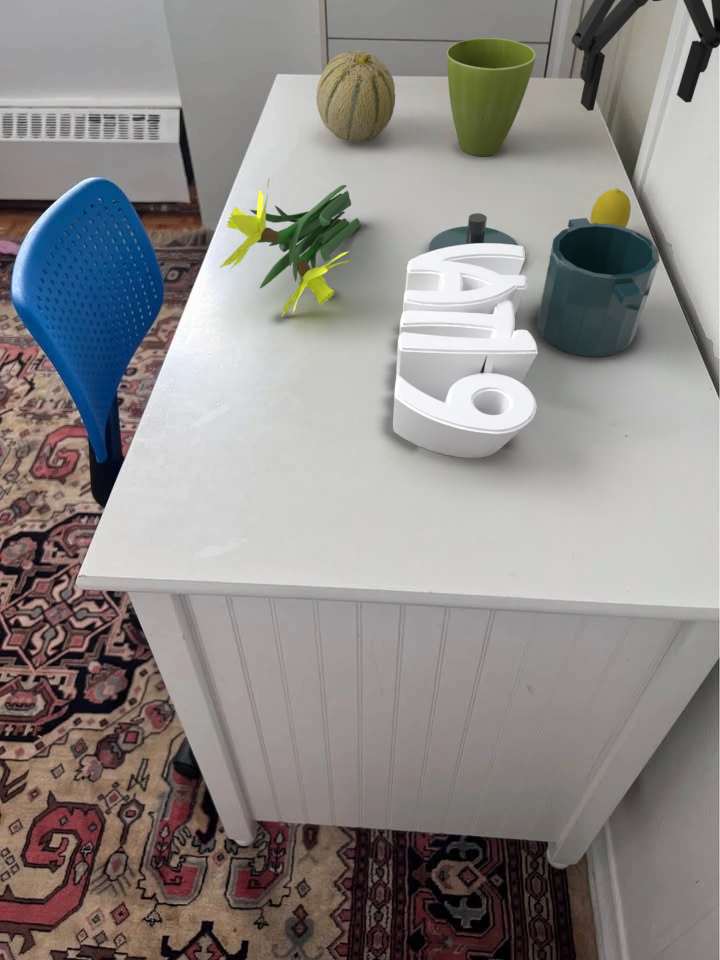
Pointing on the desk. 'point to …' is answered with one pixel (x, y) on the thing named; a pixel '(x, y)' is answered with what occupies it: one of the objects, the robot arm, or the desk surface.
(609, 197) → the lemon
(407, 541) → the desk surface
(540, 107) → the desk surface
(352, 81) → the cantaloupe
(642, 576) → the desk surface
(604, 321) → the pot
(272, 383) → the desk surface
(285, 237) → the daffodil flowers
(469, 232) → the lid
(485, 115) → the flower pot
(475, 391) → the wavy white extrusion
